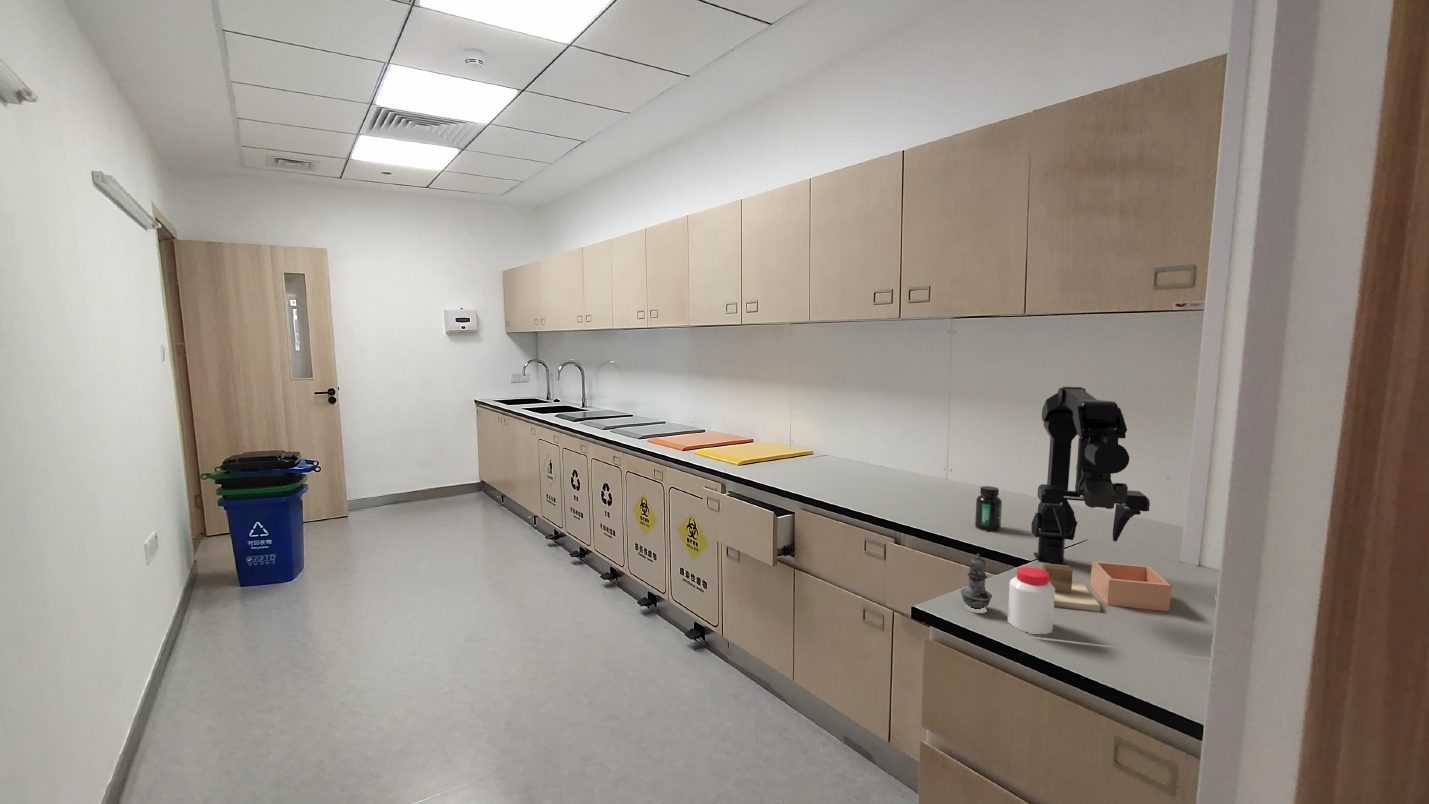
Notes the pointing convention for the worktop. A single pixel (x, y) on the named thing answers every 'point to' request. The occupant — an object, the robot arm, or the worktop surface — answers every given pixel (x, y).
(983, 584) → the grey figurine
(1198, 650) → the worktop surface
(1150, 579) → the pink open tray
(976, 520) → the supplement bottle
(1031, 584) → the pill bottle
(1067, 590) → the lid
